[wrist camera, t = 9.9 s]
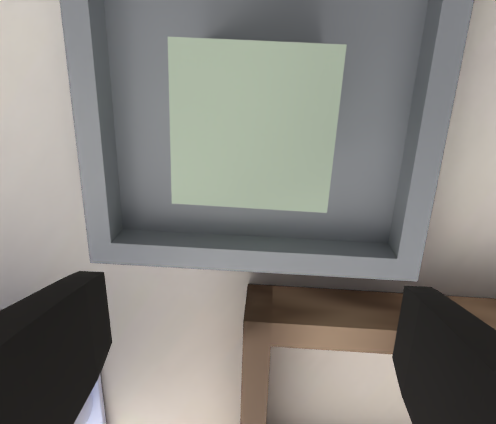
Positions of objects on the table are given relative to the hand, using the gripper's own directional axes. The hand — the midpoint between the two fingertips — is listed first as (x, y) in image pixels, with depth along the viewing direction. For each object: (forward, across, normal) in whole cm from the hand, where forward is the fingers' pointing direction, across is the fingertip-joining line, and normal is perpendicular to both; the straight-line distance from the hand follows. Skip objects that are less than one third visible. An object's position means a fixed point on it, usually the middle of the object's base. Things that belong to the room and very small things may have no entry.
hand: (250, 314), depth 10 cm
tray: (+9, 0, -4) cm, 10 cm away
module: (+9, 0, -4) cm, 10 cm away
